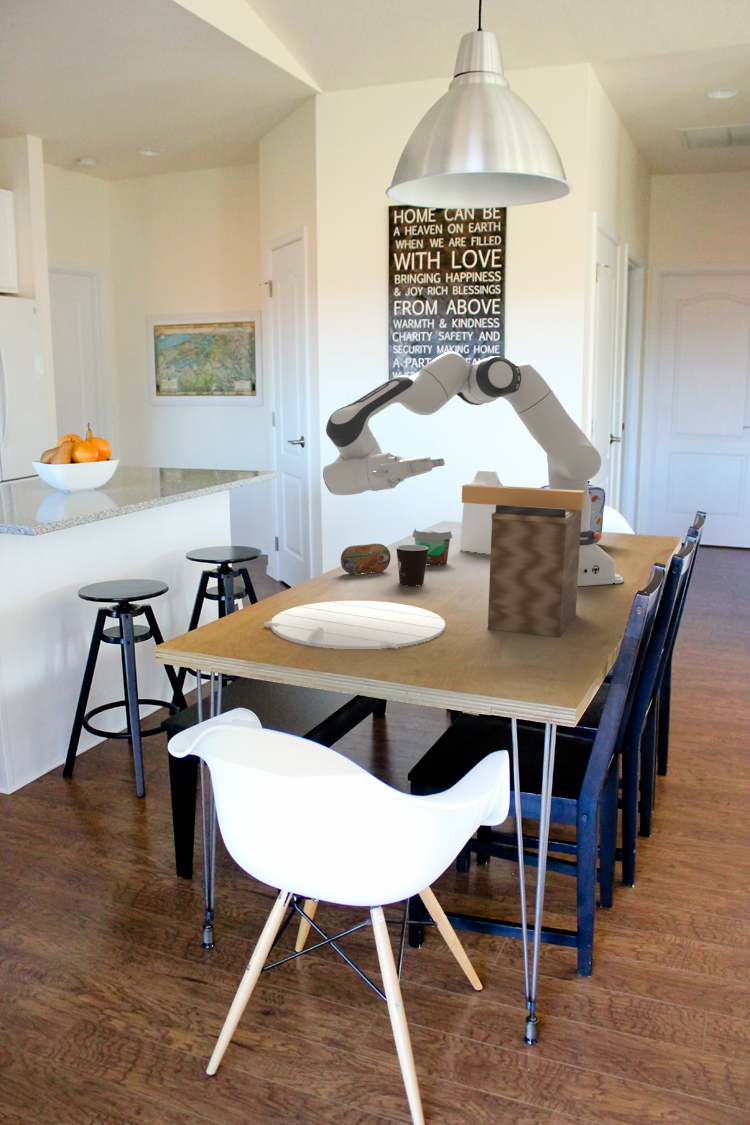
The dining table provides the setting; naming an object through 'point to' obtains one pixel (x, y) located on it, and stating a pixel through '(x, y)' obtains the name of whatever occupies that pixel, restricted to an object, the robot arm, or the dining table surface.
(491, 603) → the walnut stand
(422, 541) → the food container
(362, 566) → the tin
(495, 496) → the orange block
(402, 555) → the coffee mug
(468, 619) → the dining table surface
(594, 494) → the lunch box
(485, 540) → the milk
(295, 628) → the lazy susan
